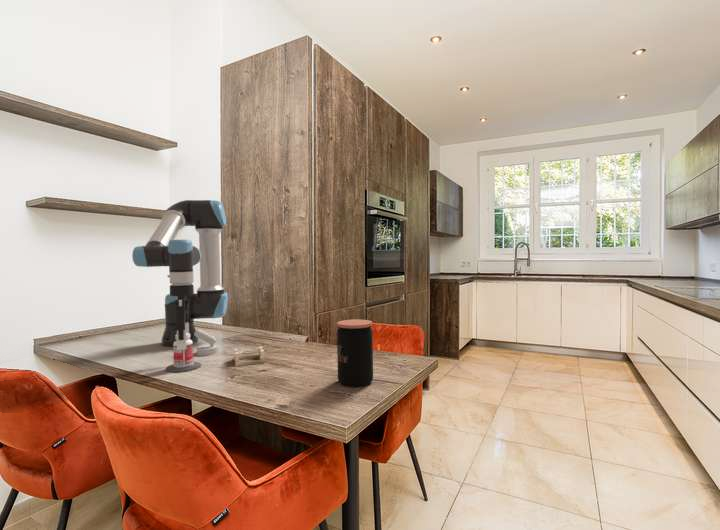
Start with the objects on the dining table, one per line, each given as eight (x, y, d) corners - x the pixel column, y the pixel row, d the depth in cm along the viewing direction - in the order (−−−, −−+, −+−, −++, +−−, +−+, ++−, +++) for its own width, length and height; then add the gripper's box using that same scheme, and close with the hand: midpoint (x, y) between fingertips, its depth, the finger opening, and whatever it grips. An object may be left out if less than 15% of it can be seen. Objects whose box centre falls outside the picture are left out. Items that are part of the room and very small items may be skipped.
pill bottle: (193, 362, 137) (192, 331, 137) (193, 366, 132) (193, 334, 132) (173, 365, 135) (173, 333, 134) (173, 369, 129) (172, 336, 129)
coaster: (168, 365, 136) (168, 363, 136) (201, 362, 140) (201, 360, 140) (164, 374, 126) (163, 372, 126) (200, 370, 130) (200, 368, 130)
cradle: (234, 358, 144) (234, 348, 144) (261, 356, 147) (261, 345, 147) (235, 366, 134) (235, 354, 134) (264, 362, 138) (264, 351, 138)
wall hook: (201, 327, 159) (223, 327, 157) (202, 350, 159) (224, 350, 157) (188, 331, 151) (211, 331, 149) (189, 355, 151) (211, 356, 149)
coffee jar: (337, 377, 120) (336, 319, 119) (371, 375, 121) (370, 318, 120) (338, 388, 109) (337, 325, 109) (375, 387, 110) (374, 324, 110)
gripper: (173, 281, 143) (175, 338, 144) (164, 287, 120) (167, 354, 120) (195, 281, 146) (197, 336, 146) (191, 286, 122) (193, 352, 123)
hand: (183, 344), depth 133 cm, fingers open, 13 cm apart
